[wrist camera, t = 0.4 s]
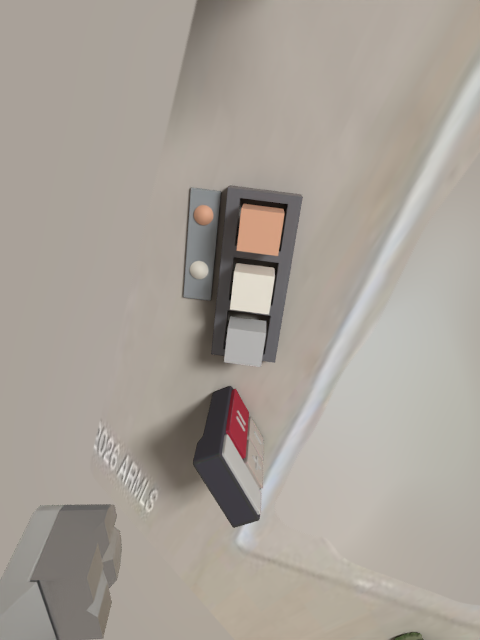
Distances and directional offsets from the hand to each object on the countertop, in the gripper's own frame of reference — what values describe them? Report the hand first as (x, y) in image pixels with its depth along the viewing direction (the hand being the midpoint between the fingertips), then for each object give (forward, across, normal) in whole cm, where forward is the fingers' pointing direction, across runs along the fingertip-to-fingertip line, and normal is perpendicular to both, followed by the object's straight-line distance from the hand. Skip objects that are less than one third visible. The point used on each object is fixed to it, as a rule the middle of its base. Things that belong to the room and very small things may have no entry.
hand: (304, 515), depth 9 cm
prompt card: (+46, +5, +7) cm, 47 cm away
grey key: (+42, -1, +17) cm, 45 cm away
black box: (+45, 0, +32) cm, 55 cm away
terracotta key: (+42, -2, +4) cm, 43 cm away
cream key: (+42, -1, +10) cm, 43 cm away
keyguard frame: (+45, -2, +11) cm, 47 cm away
